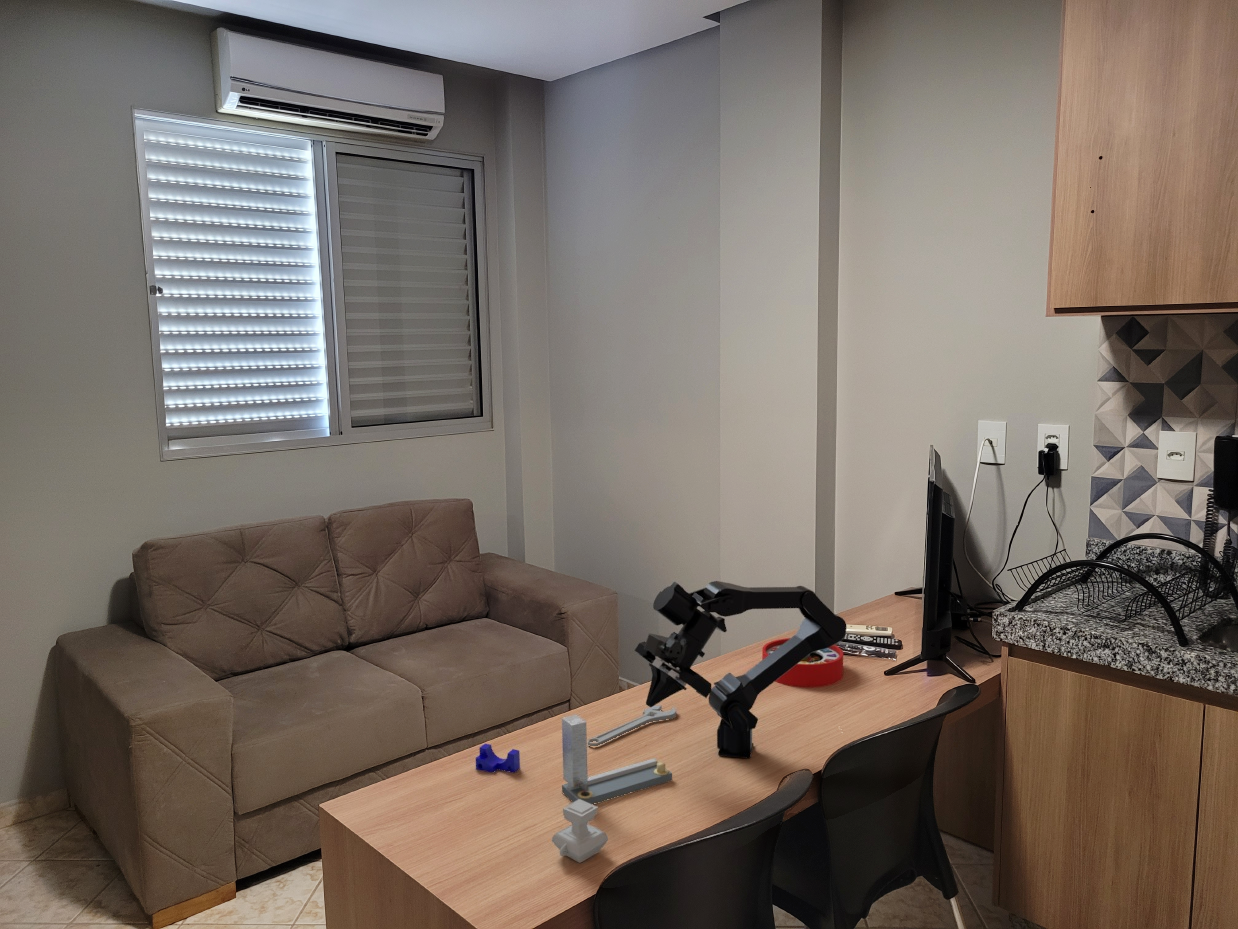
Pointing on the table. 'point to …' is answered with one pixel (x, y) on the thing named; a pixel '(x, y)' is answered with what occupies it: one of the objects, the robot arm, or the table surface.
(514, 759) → the cable holder
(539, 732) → the table surface
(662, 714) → the adjustable wrench
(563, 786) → the plate
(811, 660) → the toy clock
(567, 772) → the sliding jaw
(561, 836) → the stamp
